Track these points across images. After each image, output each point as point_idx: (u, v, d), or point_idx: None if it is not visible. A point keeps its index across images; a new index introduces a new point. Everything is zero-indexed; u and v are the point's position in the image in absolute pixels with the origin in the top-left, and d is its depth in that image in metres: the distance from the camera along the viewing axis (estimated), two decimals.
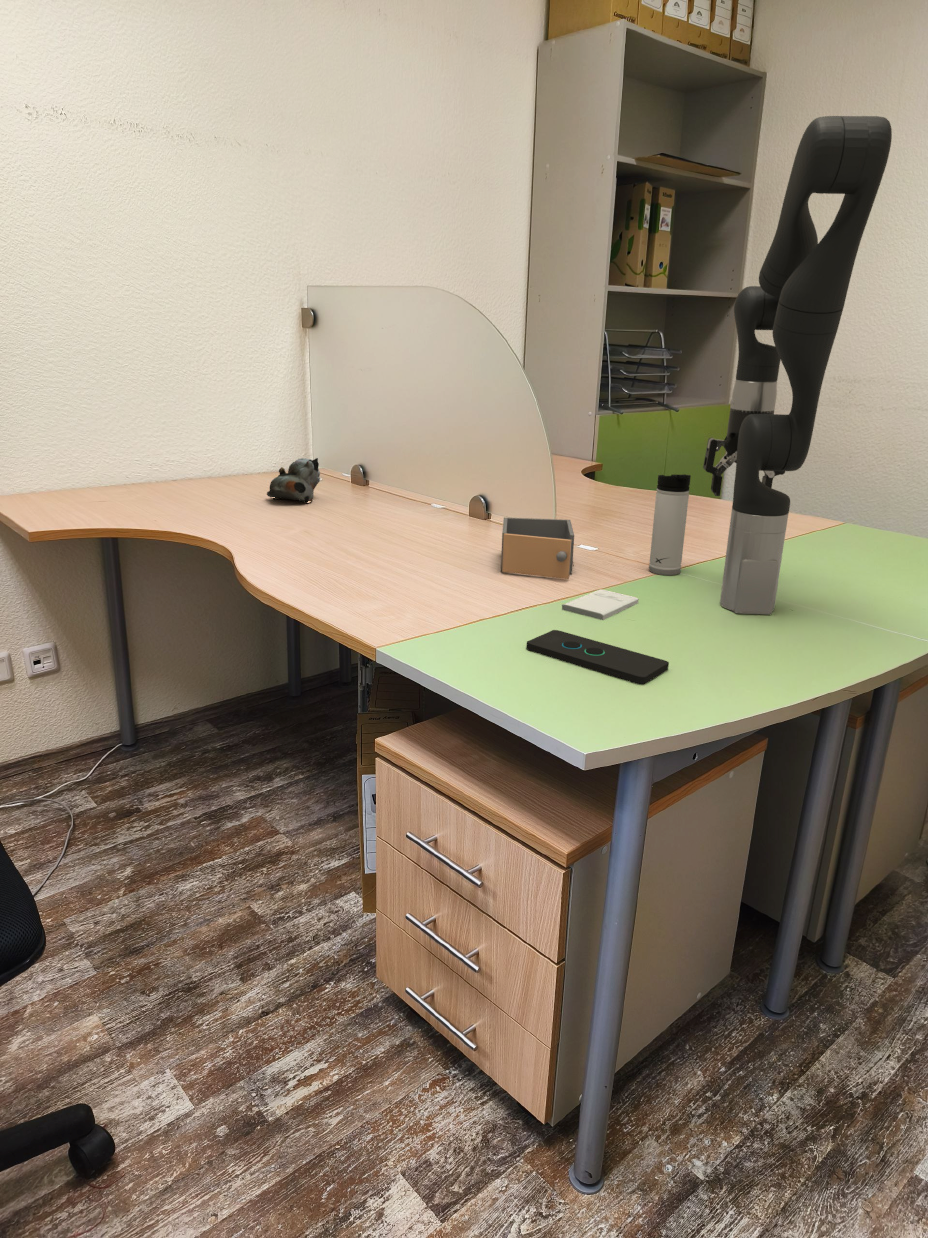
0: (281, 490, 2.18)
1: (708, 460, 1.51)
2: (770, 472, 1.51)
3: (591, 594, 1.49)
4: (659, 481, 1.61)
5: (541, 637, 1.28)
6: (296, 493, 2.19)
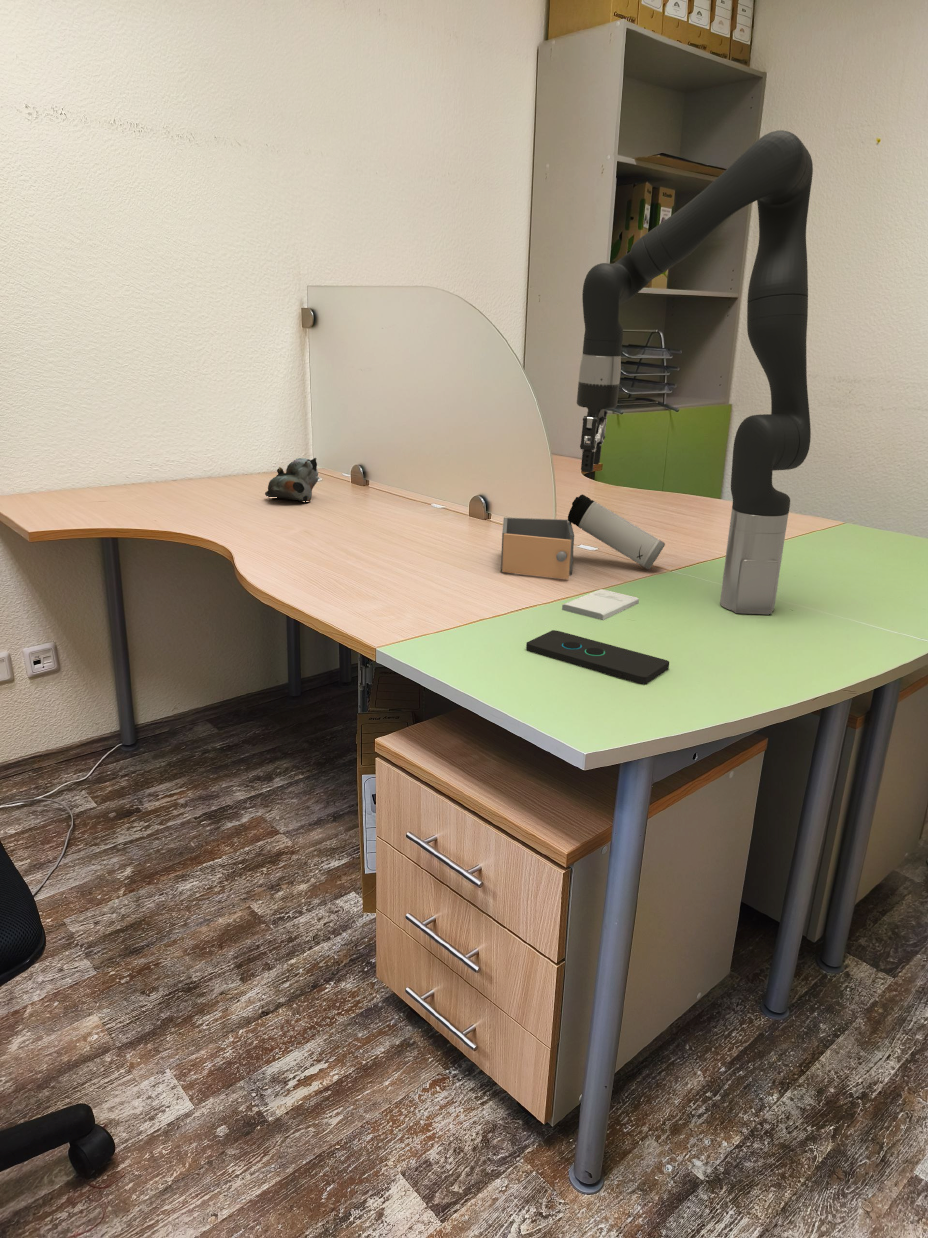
0: (280, 490, 2.19)
1: (594, 438, 1.51)
2: (602, 439, 1.62)
3: (591, 594, 1.49)
4: (572, 522, 1.71)
5: (540, 638, 1.28)
6: (295, 493, 2.20)
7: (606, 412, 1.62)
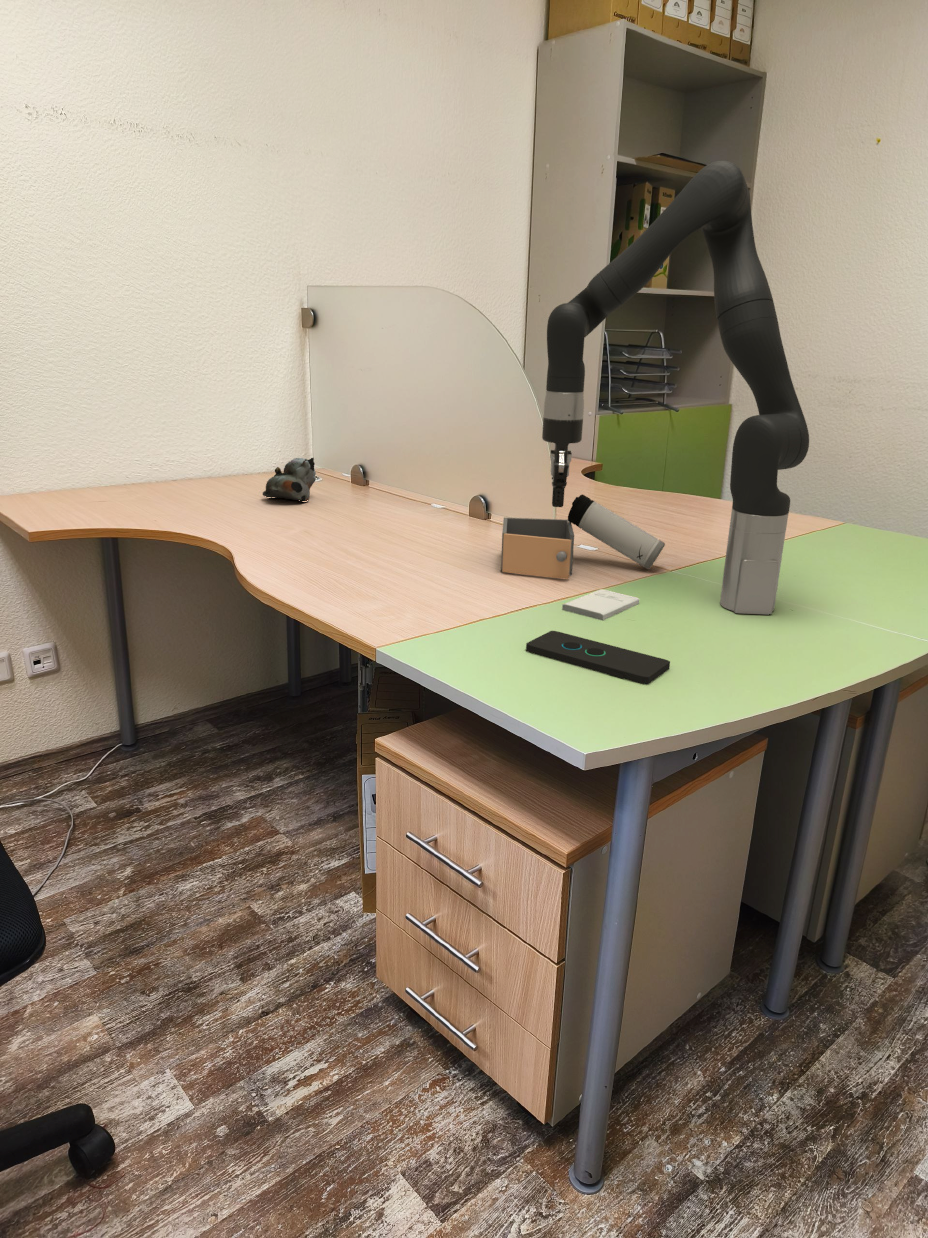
0: (278, 490, 2.19)
1: (566, 479, 1.58)
2: None
3: (592, 594, 1.49)
4: (572, 522, 1.71)
5: (540, 638, 1.27)
6: (293, 492, 2.20)
7: None
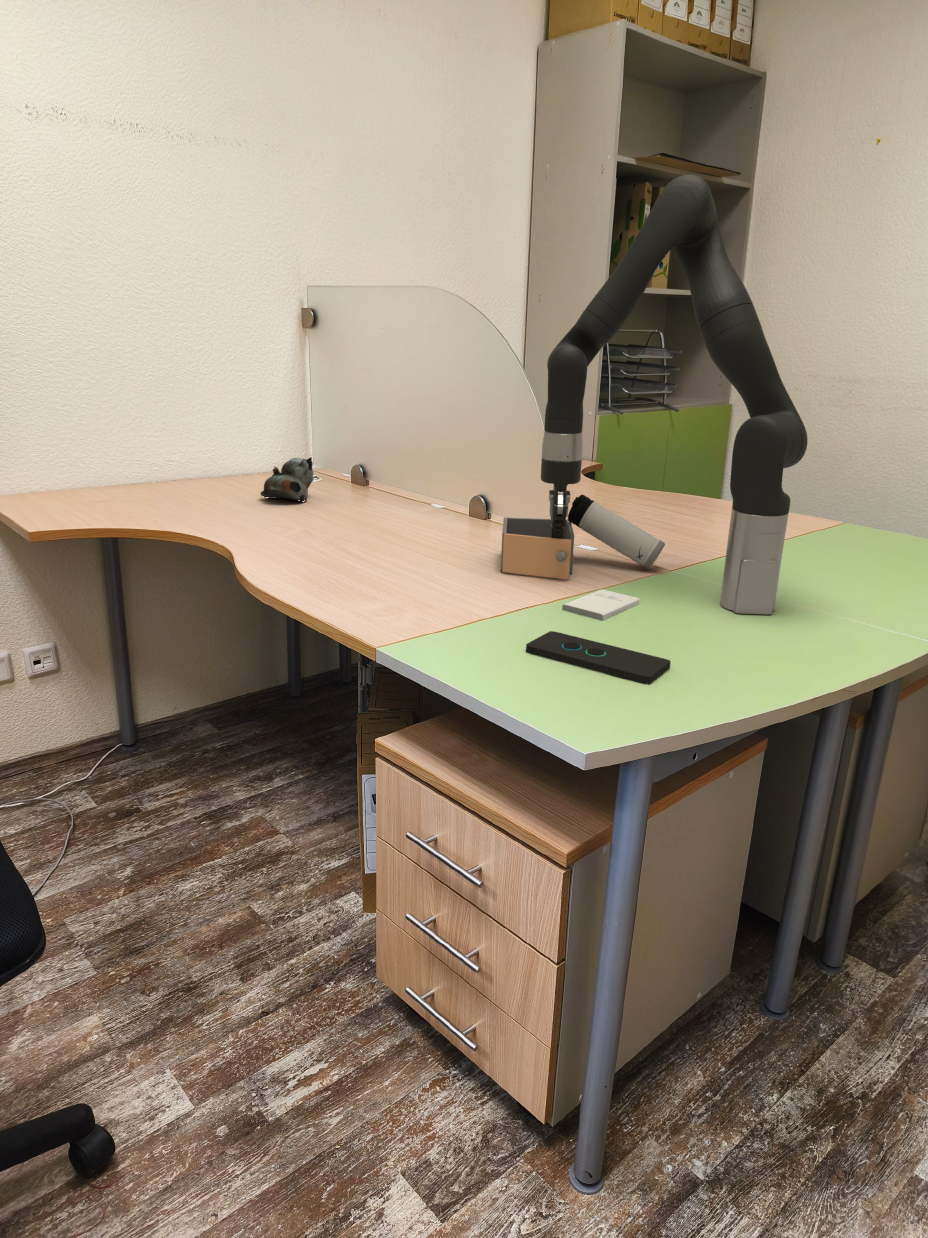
0: (277, 490, 2.19)
1: (565, 520, 1.56)
2: None
3: (592, 594, 1.49)
4: (572, 522, 1.71)
5: (539, 639, 1.27)
6: (292, 492, 2.20)
7: None
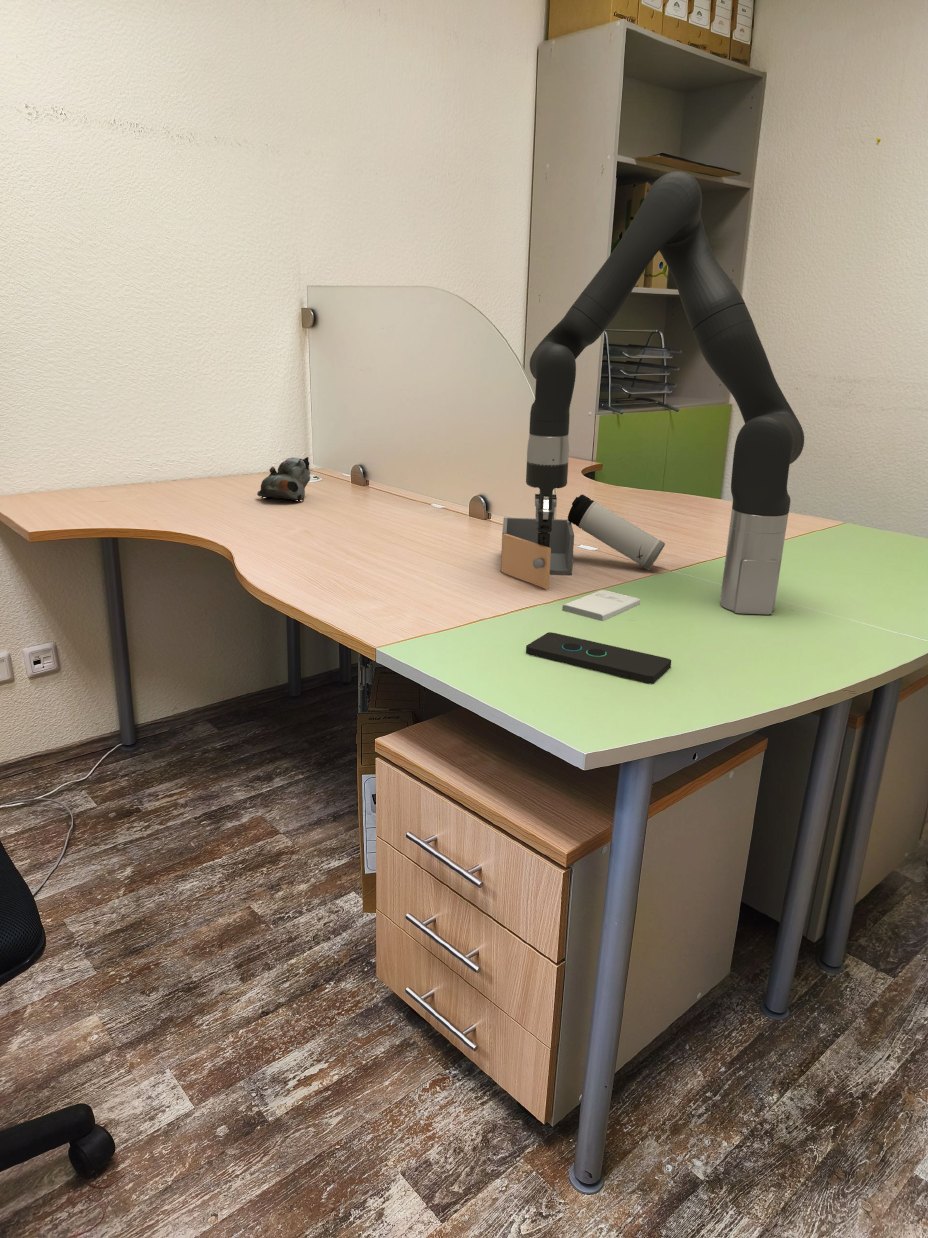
0: (274, 489, 2.19)
1: (551, 525, 1.51)
2: None
3: (592, 594, 1.49)
4: (572, 522, 1.71)
5: (539, 640, 1.26)
6: (289, 492, 2.20)
7: None
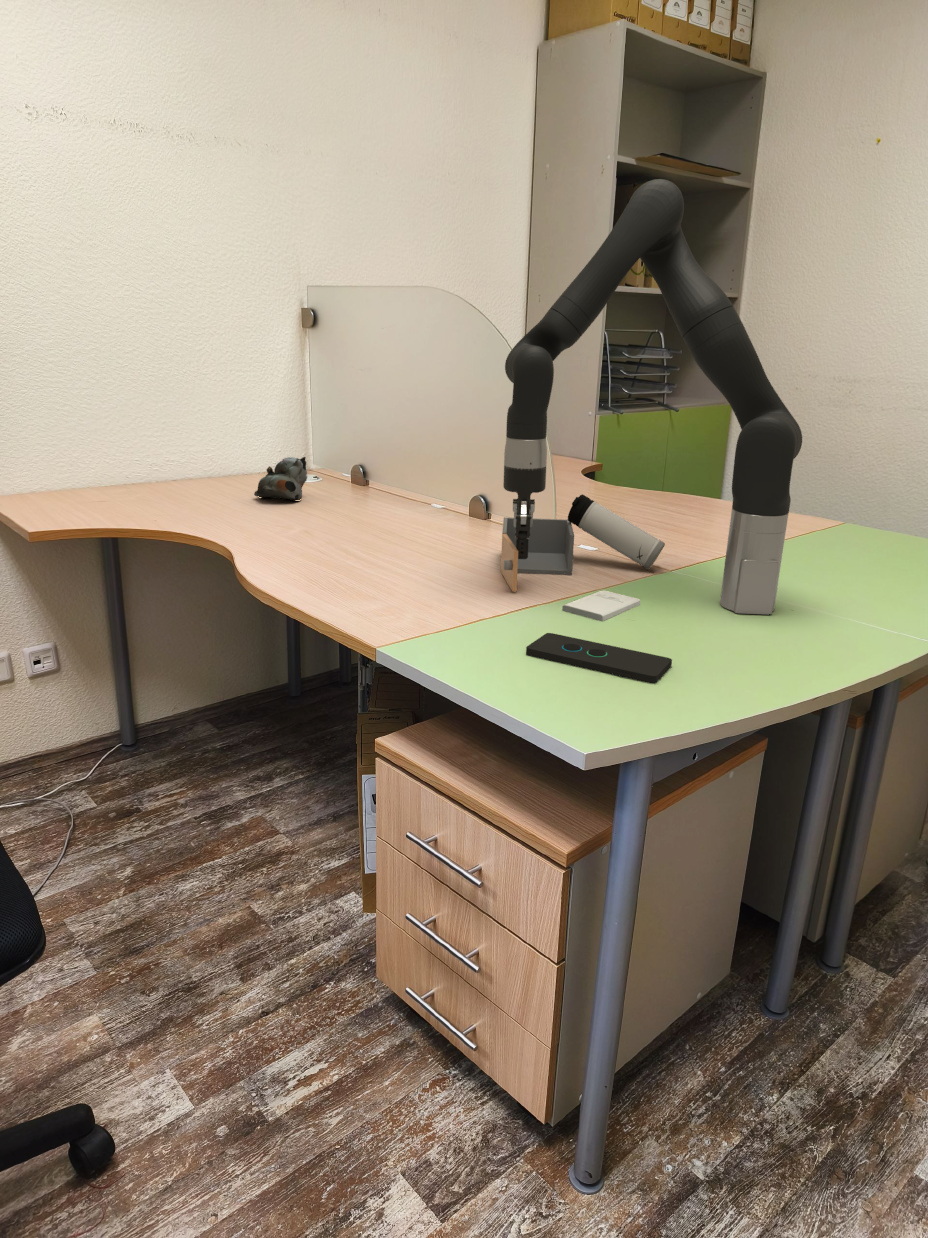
0: (272, 489, 2.19)
1: (529, 531, 1.48)
2: None
3: (593, 595, 1.49)
4: (572, 522, 1.71)
5: (538, 641, 1.26)
6: (287, 491, 2.21)
7: None
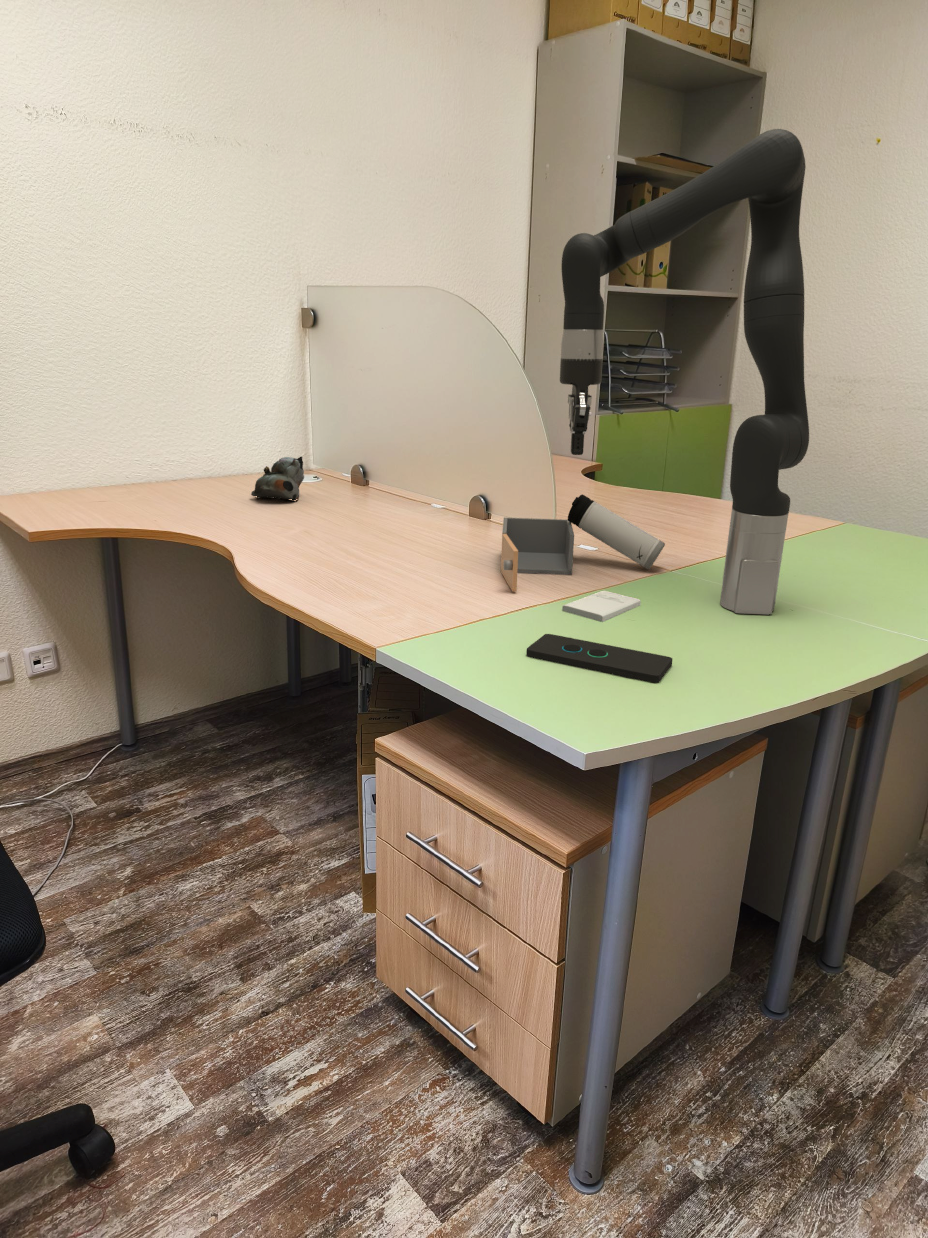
0: (270, 489, 2.20)
1: None
2: None
3: (593, 595, 1.49)
4: (572, 522, 1.71)
5: (538, 642, 1.26)
6: (285, 491, 2.21)
7: None
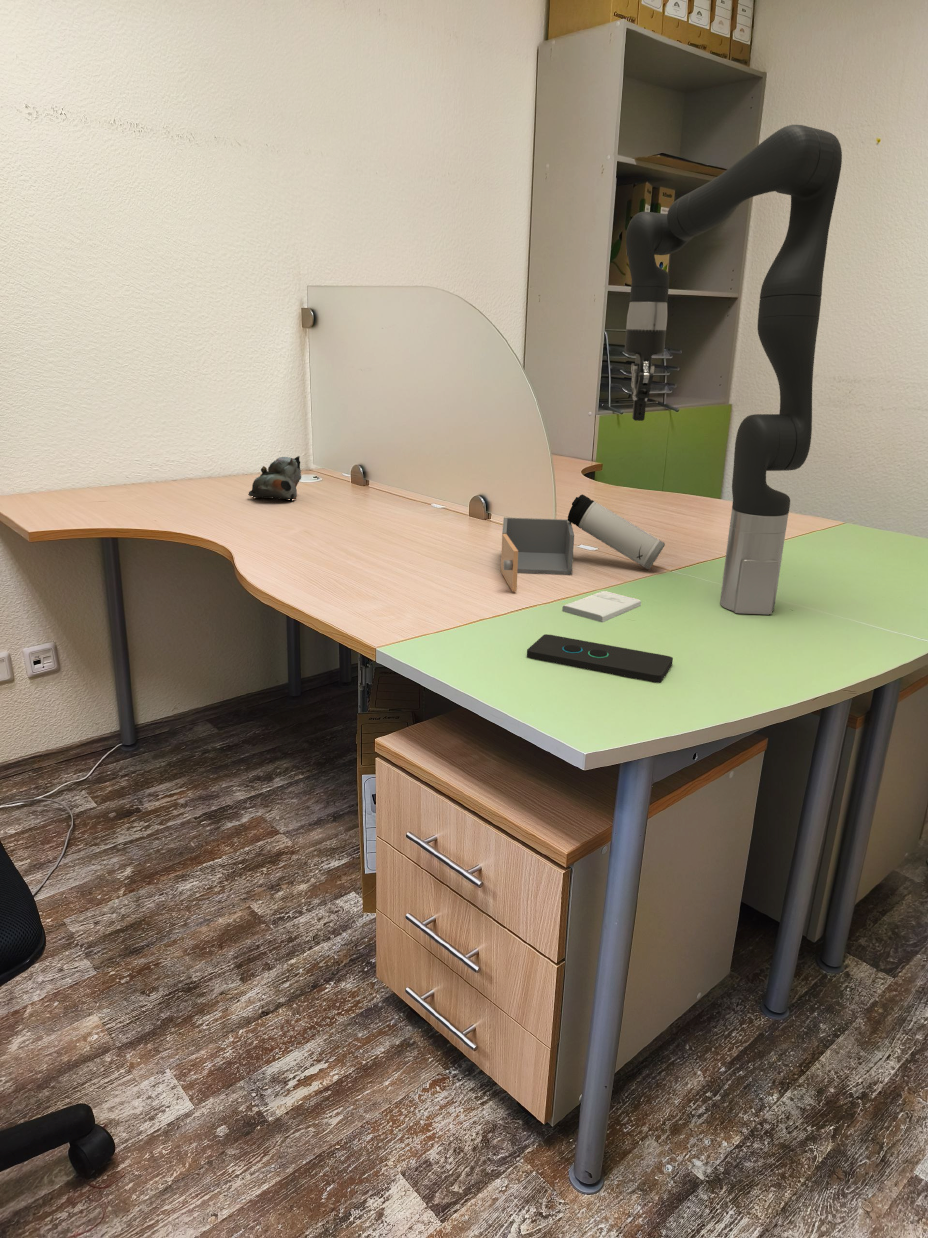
0: (268, 489, 2.20)
1: (649, 390, 1.60)
2: None
3: (593, 595, 1.48)
4: (572, 522, 1.71)
5: (538, 643, 1.25)
6: (283, 491, 2.21)
7: None
